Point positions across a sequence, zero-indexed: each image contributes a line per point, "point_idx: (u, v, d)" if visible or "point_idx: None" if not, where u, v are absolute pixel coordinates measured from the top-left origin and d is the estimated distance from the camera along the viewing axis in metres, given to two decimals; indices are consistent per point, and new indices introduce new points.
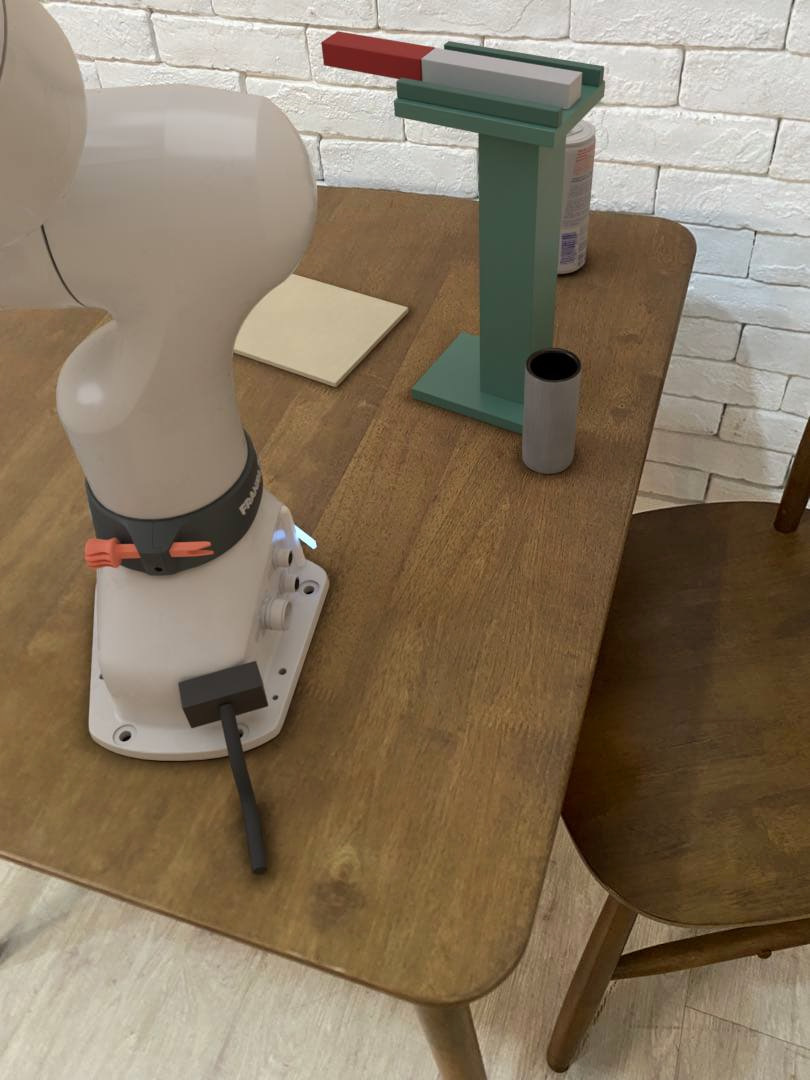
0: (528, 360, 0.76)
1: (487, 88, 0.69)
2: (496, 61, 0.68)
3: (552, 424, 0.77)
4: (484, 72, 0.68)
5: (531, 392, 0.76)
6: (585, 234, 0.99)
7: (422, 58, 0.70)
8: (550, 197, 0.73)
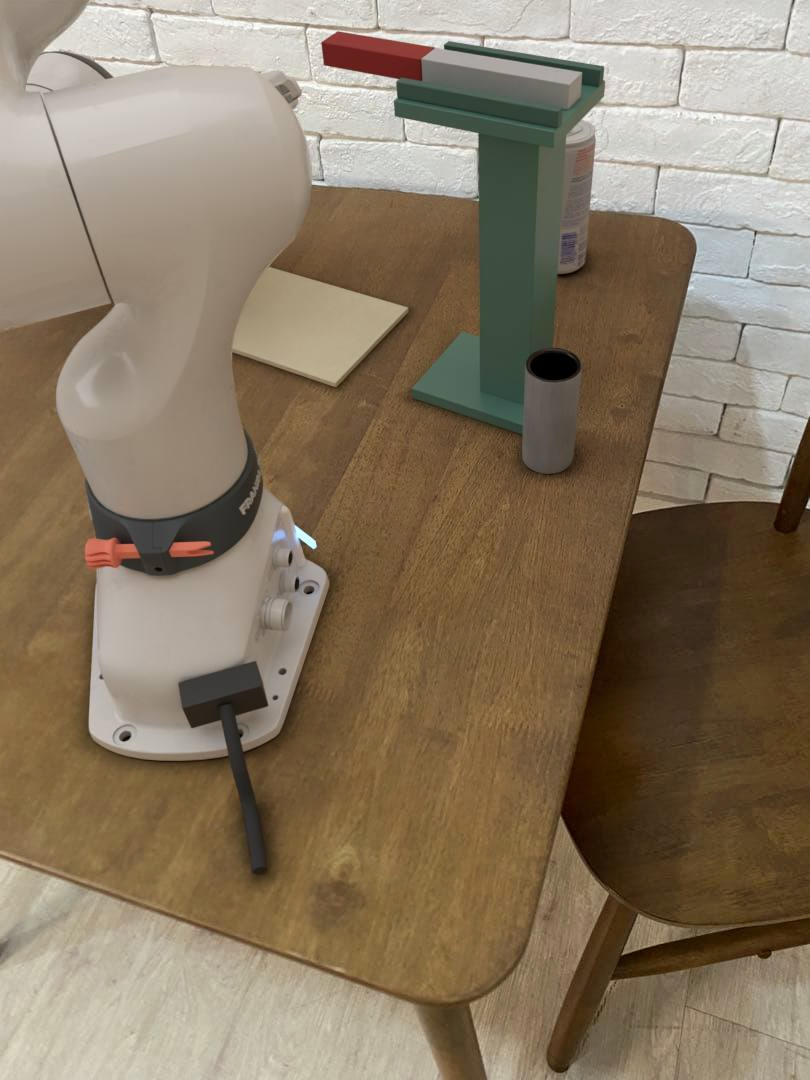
0: (528, 360, 0.76)
1: (487, 88, 0.69)
2: (496, 61, 0.68)
3: (552, 424, 0.77)
4: (484, 72, 0.68)
5: (531, 392, 0.76)
6: (585, 234, 0.99)
7: (422, 58, 0.70)
8: (550, 197, 0.73)
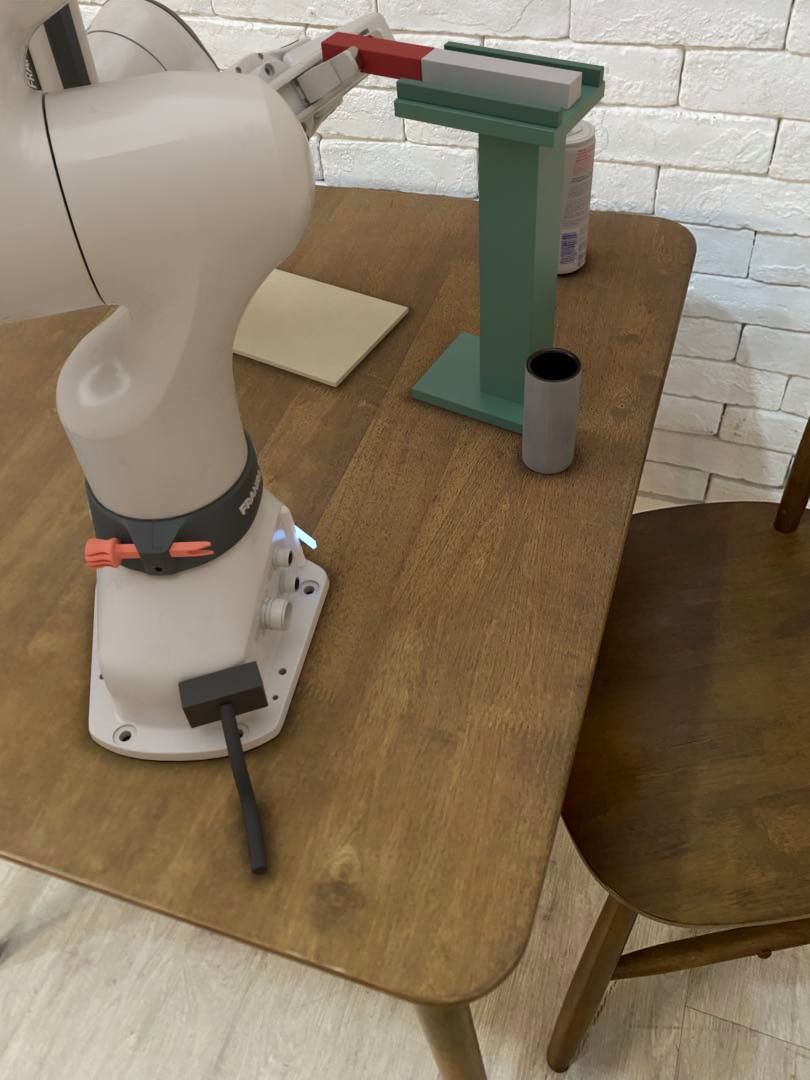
0: (528, 360, 0.76)
1: (487, 88, 0.69)
2: (496, 61, 0.68)
3: (552, 424, 0.77)
4: (484, 72, 0.68)
5: (531, 392, 0.76)
6: (585, 234, 0.99)
7: (422, 58, 0.70)
8: (550, 197, 0.73)
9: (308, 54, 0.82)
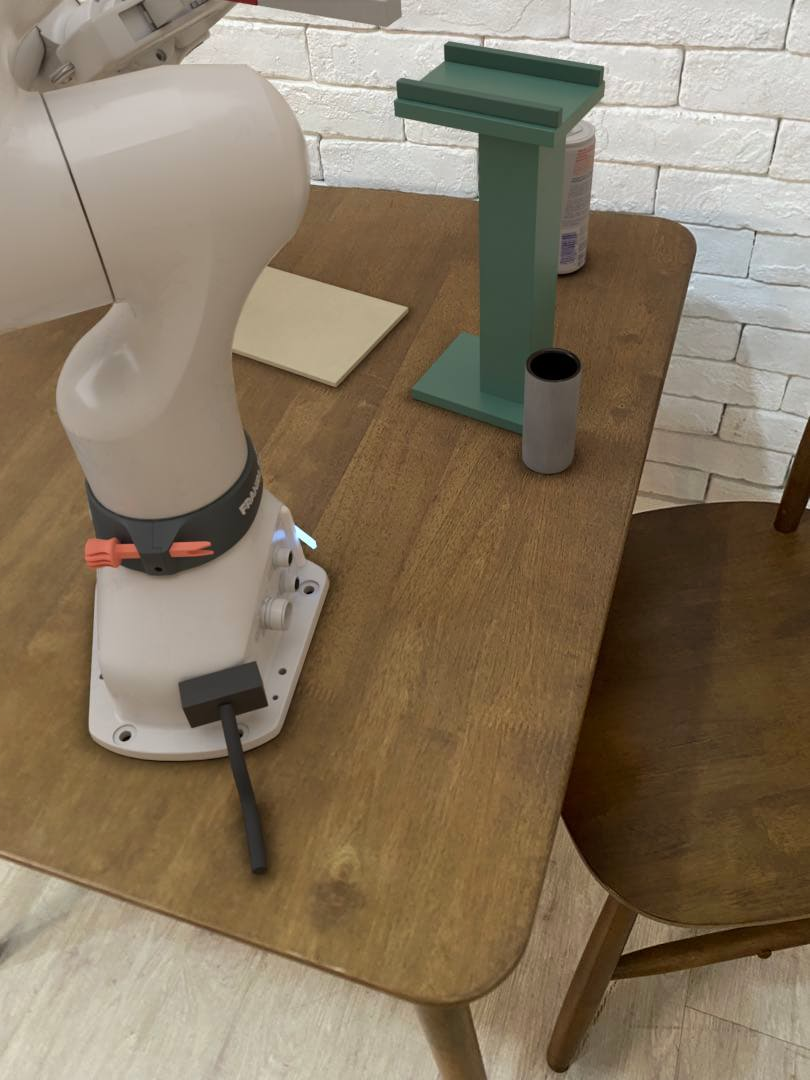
0: (528, 360, 0.76)
1: (315, 8, 0.72)
2: None
3: (552, 424, 0.77)
4: None
5: (531, 392, 0.76)
6: (585, 234, 0.99)
7: None
8: (550, 197, 0.73)
9: None
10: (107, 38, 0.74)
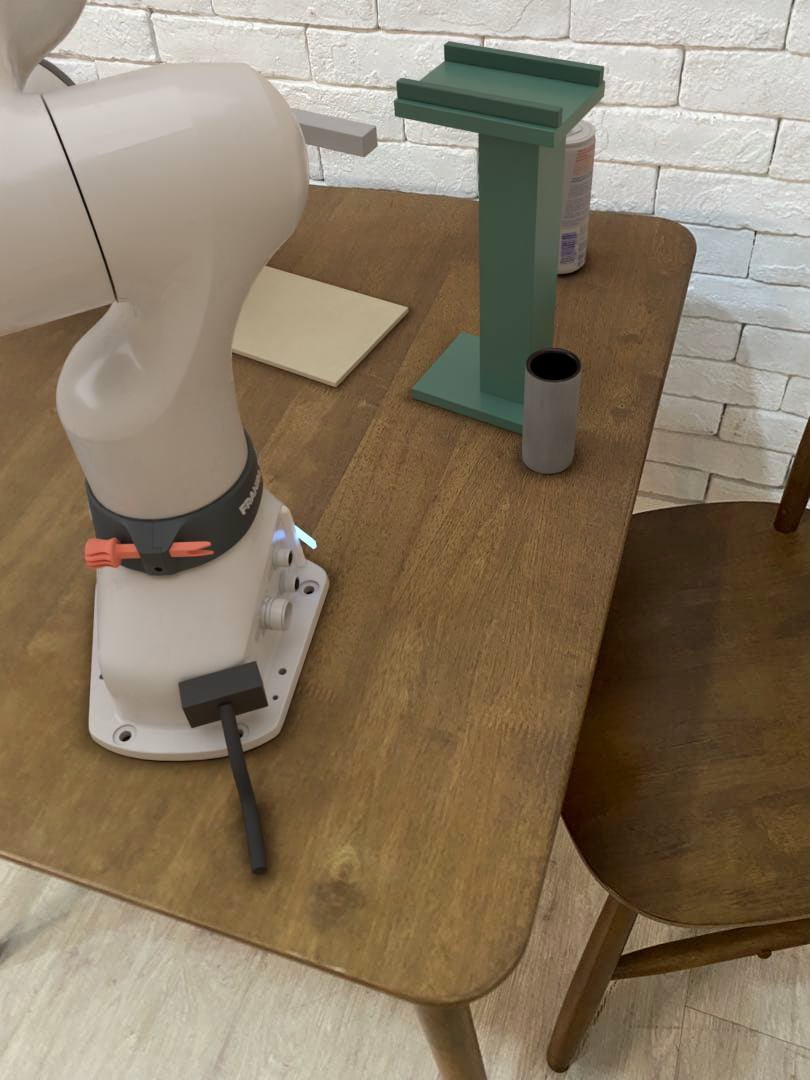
0: (528, 360, 0.76)
1: None
2: (308, 114, 0.81)
3: (552, 424, 0.77)
4: None
5: (531, 392, 0.76)
6: (585, 234, 0.99)
7: None
8: (550, 197, 0.73)
9: None
10: None
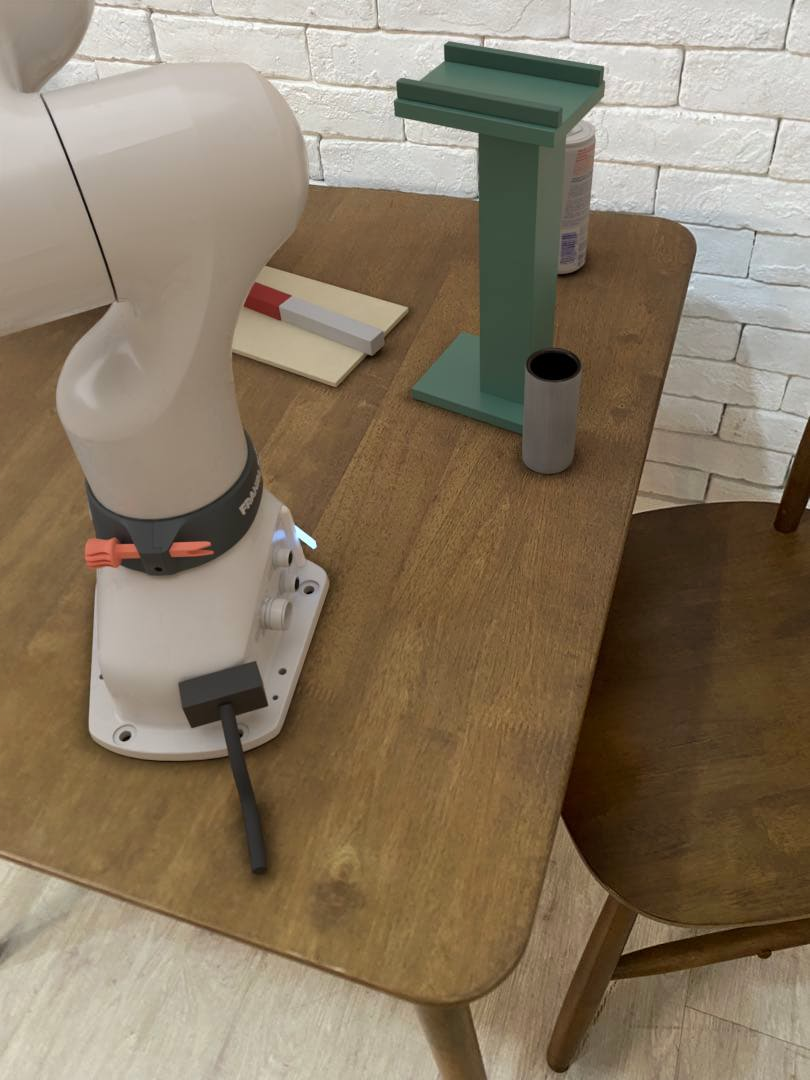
0: (528, 360, 0.76)
1: (321, 332, 0.96)
2: (328, 313, 0.96)
3: (552, 424, 0.77)
4: (318, 322, 0.95)
5: (531, 392, 0.76)
6: (585, 234, 0.99)
7: (279, 305, 0.98)
8: (550, 197, 0.73)
9: None
10: None
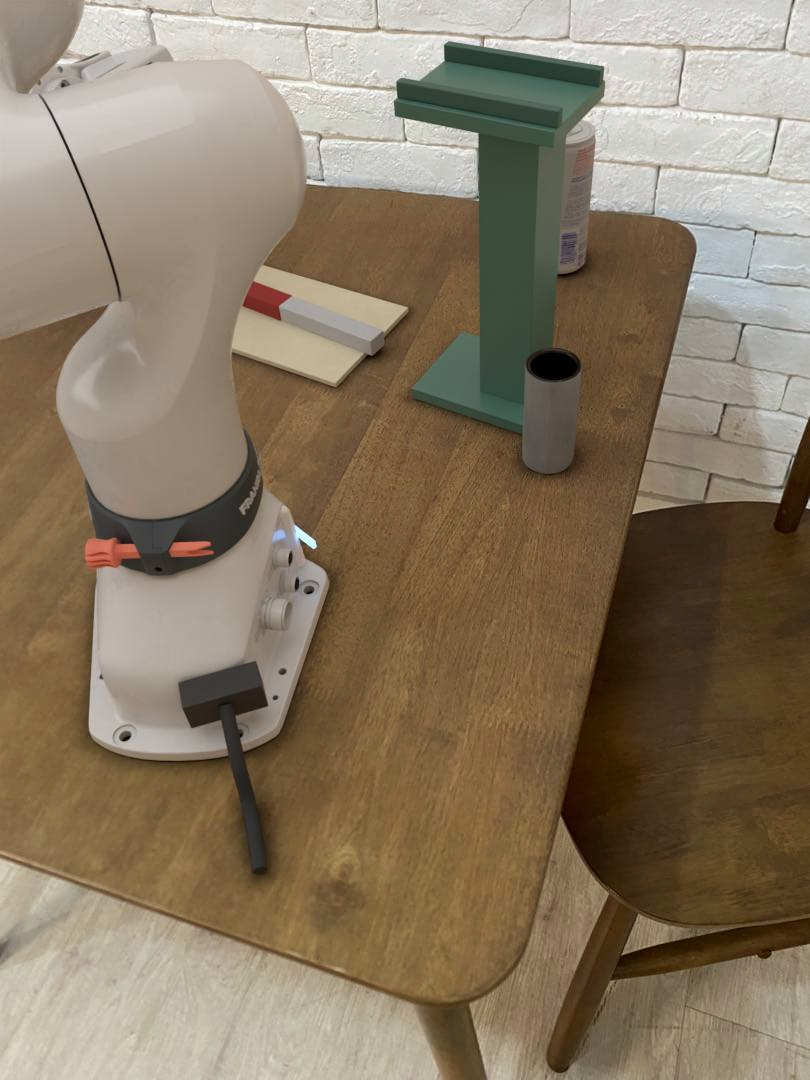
0: (528, 360, 0.76)
1: (321, 332, 0.96)
2: (328, 313, 0.96)
3: (552, 424, 0.77)
4: (318, 322, 0.95)
5: (531, 392, 0.76)
6: (585, 234, 0.99)
7: (279, 305, 0.98)
8: (550, 197, 0.73)
9: (103, 71, 0.97)
10: None
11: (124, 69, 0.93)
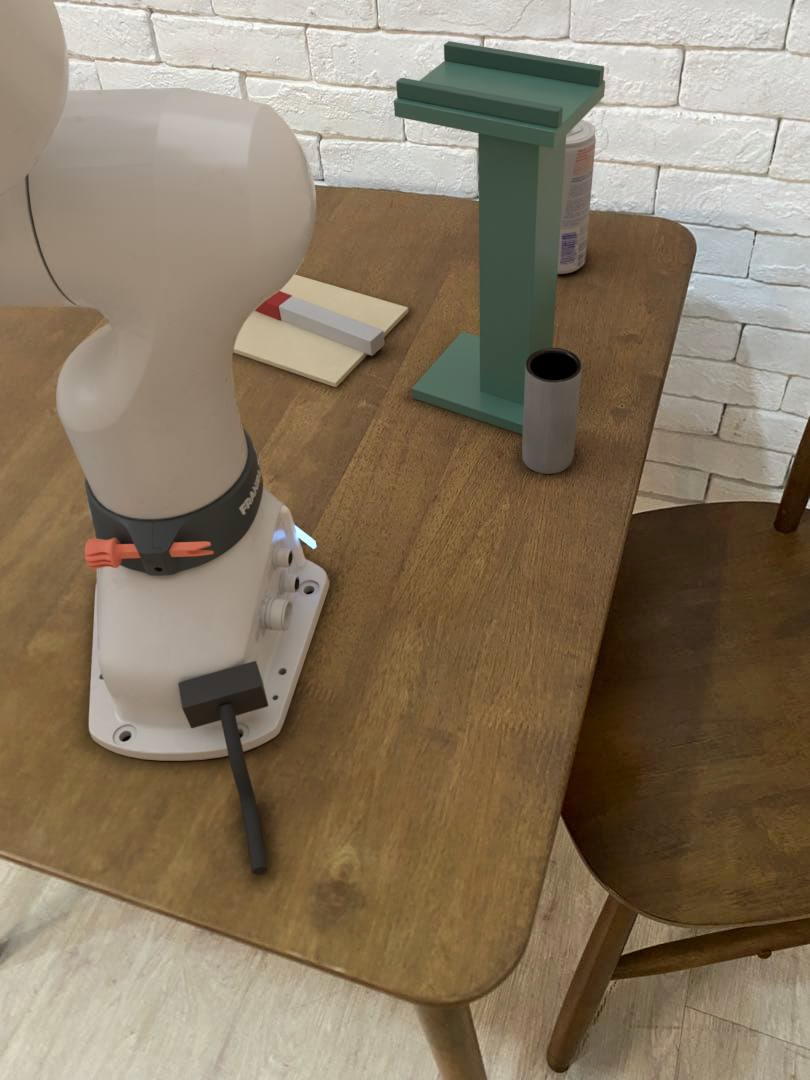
0: (528, 360, 0.76)
1: (321, 332, 0.96)
2: (328, 313, 0.96)
3: (552, 424, 0.77)
4: (318, 322, 0.95)
5: (531, 392, 0.76)
6: (585, 234, 0.99)
7: (279, 305, 0.98)
8: (550, 197, 0.73)
9: None
10: None
11: None
